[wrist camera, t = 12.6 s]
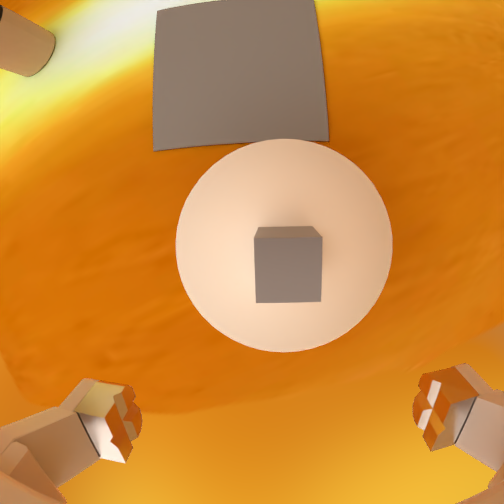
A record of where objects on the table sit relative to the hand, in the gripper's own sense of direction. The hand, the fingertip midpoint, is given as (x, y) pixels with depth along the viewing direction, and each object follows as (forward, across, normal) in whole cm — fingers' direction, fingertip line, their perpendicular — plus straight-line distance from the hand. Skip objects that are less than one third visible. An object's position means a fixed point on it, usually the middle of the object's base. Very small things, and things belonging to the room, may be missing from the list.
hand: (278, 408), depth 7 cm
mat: (+28, +3, -20) cm, 35 cm away
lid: (+17, -1, 0) cm, 17 cm away
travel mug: (+28, +34, -31) cm, 54 cm away
